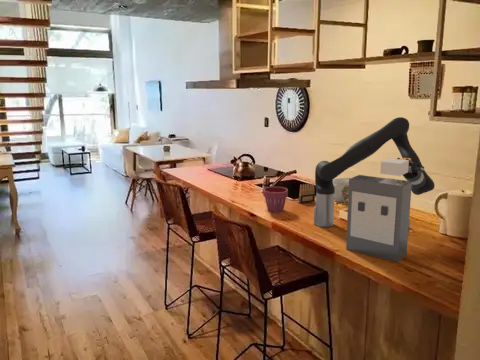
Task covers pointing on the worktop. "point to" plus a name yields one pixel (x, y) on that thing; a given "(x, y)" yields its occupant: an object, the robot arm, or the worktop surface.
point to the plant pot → (275, 198)
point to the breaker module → (395, 166)
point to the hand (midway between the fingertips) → (402, 160)
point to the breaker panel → (378, 216)
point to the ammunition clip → (307, 194)
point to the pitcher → (341, 189)
